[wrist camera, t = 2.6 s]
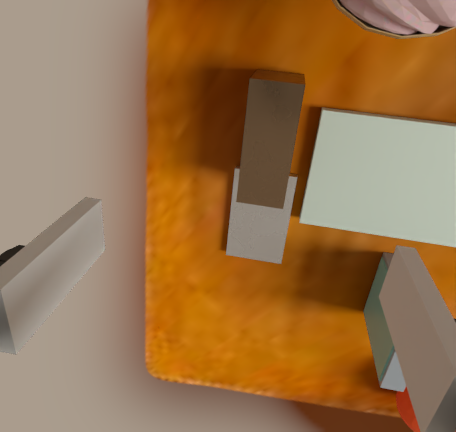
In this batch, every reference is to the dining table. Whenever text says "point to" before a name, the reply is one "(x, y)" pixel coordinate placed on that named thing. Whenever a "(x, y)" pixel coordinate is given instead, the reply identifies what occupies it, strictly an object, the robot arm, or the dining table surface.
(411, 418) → the clementine
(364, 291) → the dining table surface
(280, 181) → the brown grey long block
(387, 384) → the tile
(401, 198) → the board
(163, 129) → the dining table surface
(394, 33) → the ice cream cone
